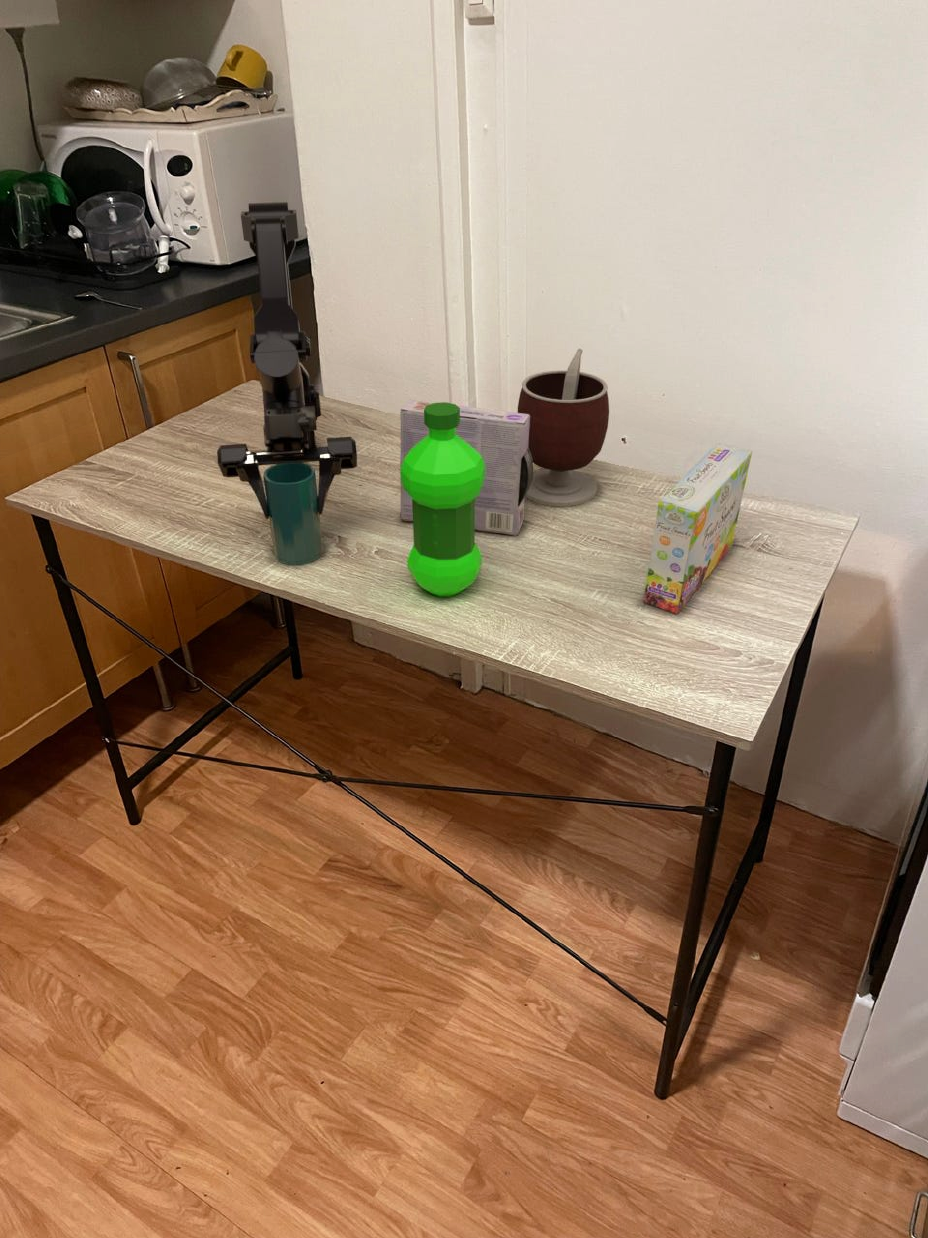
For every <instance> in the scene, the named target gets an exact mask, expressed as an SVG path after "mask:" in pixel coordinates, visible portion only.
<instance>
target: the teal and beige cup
mask: <svg viewBox="0 0 928 1238" xmlns="http://www.w3.org/2000/svg"><path fill="white" fill-rule="evenodd" d="M262 479H263V486H264V491H265V496H266V500H267V507H268V513H269V519H268V520H269V528H270V534H271V542H272V548H273V553H274V557H275V559H276V560H277V561H278V562H280V563H282V564H284V565H288V566H289V565H290V566H300V565H306V564H307V565H308V564H310V563H313V562H315V561H317V560H318V559H320V558H321V557H322V555H323V553H324V542H323V534H322V533H323V532H322V524H321V523H322V522H321V515H319V509H318V485H317V475H316V469H315V468H314V467H313V466H312V465H311V464H308V463H306V462H302V463H301V462H286V463H280V464H273V465H270V466H269V467H267V469H265V470H264V471H263V476H262Z"/></svg>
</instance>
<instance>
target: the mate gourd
mask: <svg viewBox="0 0 928 1238" xmlns="http://www.w3.org/2000/svg"><path fill="white" fill-rule="evenodd" d="M582 354H583V349H581V348H578V349H577V351H576V352H575V354H574V355H573V358H572V359H571V361H570V363H569V365H568V367H567V369H566V370H549V371H542V372H537V373H535V374H531V375H529V376H528V377H526V378H524V379H523V381H522V382H521V389H520V393H519V398H518V402H517V413H523V414H529V415H530V427H529V440H528V448H529V450H530V453H531V456H532V461H533V465H535V466H537V467H539V468H542V469H538V470H533V478H532V482H531V485H530V488H529V490H528V492H527V494H526V495H525V498H526V499H528V500H529V501H531V502H534V503H537V504H539V505H543V506H550V507H560V508H561V507H563V508H564V507H573V506H579V505H582V504H585V503H588V502H589V501H592V500H593V499H594V497H595V496H596V495H597V492H598V484H597V482H596V480H595V479H594V478H593V477H591V476H590V475H588V474H586V473H584V472H581V471H578V470H579V469H583V468H585V467H587V466H588V465H590V463H592V461H593V460H594V459H595V458H597V457H598V455H599V454H600V452H602V448H603V446H604V443H605V440H606V436H607V433H608V429H609V419H610V402H609V401H610V400H609V393H608V391H609V390H608V389H609V387H608V384H607V382H606V381H604V380H603V378H600V377H598V376H596V375H594V374H590V373H587V372H581V361H582V360H581V359H582Z"/></svg>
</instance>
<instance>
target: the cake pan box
mask: <svg viewBox="0 0 928 1238" xmlns="http://www.w3.org/2000/svg"><path fill="white" fill-rule="evenodd" d="M433 403H434V402H431V401H422V400H415V399H409V400H407V401H406V403H404V404H403V405H402V407H400V417H399V418H400V459H399V460H400V465H399V466H400V469H401V466H402V463H403V460H404V458H405V457H406V455H407V454H408V452H409V451H410V449H411V448H413V447H414V446H415V445H416V444H417V443H418V442H420V441H421V440H422V439H423V438H425V437H426V436H428V435H429V428H428V427H427V426H426V425H425V424H424V409H425V407H426V406H427V405H430V404H433ZM456 405H457V404H456ZM457 406H458V407H459V408H460V423H459V425H458V427H456V435H457V436H459V437H460V438H462V439H463V440H464V441H465V442H467V443H468V444H469V445H470V446H471V447H472V448H474V449H475V450H476V451H477V452H478V453H479V454H480V455H481V456H482V458H483V461H484V463H485V478H484V482H483V485H482V488H481V490H480V492H479V494H478V496H477V497H476V498H475V531H480V532H488V533H496V534H501V535H502V534H503V535H509V536H513V537H517V536H518V534H519V533H520V530H521V528H522V525H523V523H524V517H525V515H524V514H525V513H524V512H525V500H526V499H525V498H526V497H525V495H526V494H527V492H528V490H529V488H530V485H531V482H532V478H533V472H534V463H533V461H532V456H531V453H530V450H529V448H528V440H529V427H530V415H529V414H523V413H518V412H515V411H514V412H513V411H506V410H505V411H504V410H496V409H488V408H481V407H475V406H474V407H472V406H464V405H457ZM399 474H400V476H401V473H399ZM400 518H401V521H403V522H413V509H412V498H411V497H410V495H409V494H408V493H407V492H406V491H405V490H404V488H403V485H402V481H401V480H400Z"/></svg>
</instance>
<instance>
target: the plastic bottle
mask: <svg viewBox="0 0 928 1238" xmlns="http://www.w3.org/2000/svg"><path fill="white" fill-rule="evenodd" d="M432 403H433V404H430V405H427V406H426V407H425V409H424V424H425V425H426V426H427V427H428V428H429V435H428V436H426V437H425V438H423V439H422V440H421V441H420V442H418V443H417V444H416V445H415V446H414V447H413V448H411V449H410V451H409V452H408V454H407V455H406V457H405V458H404V460H403V463H402V466H401V469H400V471H399V472H400V473H401V475H400V482H401V481H402V485H403V488H404V490H405V491H406V492H407V493H408V494H409V495H410V497H411V498H412V509H413V521H412V532H413V533H412V534H413V545H412V548H411V549H410V552H409V554H408V556H407V560H406V561H407V562H406V564H407V569H408V571H409V573H410V575H411V576H412V578H413V579H414V580H415V582H416V583H417V584H418V586H419V587H420V588H422V589H424V590H425V591H427V592H429V593H430V594H432V595H434V596H435V595H436V596H438V597H453V596H455V595H457V594H460V593H461V592H463V591H464V590H465V589H466V588H468V587H470V586H471V585H472V584H473V583H475V580H476V579H477V576H478V574H479V572H480V569H481V567H482V563H483V562H482V561H483V556H482V553H481V551H480V548H479V546H478V545H477V544H476V541H475V540H476V537H475V536H476V535H475V534H476V530H475V498H476V497H477V496H478V494H479V492H480V490H481V488H482V485H483V482H484V478H485V463H484V461H483V458H482V456H481V455H480V454H479V453H478V452H477V451H476V450H475V449H474V448H472V447H471V446H470V445H469V444H468V443H467V442H465V441H464V440H463V439H462V438H460V437H459V436H457V435H456V427H458V425H459V423H460V408H459V407H458V406H459V405H458V406H457V404H456V403H451V402H448V401H447V402H446V401H445V402H432ZM400 473H399V474H400Z"/></svg>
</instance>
